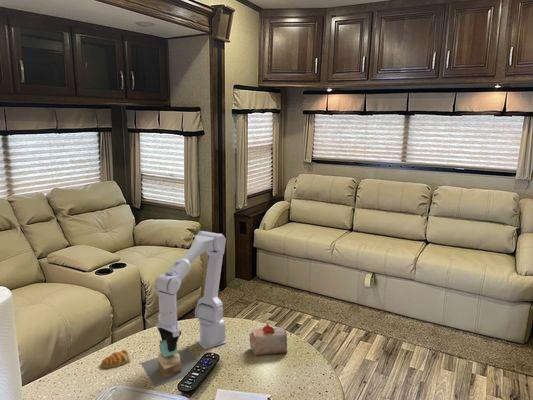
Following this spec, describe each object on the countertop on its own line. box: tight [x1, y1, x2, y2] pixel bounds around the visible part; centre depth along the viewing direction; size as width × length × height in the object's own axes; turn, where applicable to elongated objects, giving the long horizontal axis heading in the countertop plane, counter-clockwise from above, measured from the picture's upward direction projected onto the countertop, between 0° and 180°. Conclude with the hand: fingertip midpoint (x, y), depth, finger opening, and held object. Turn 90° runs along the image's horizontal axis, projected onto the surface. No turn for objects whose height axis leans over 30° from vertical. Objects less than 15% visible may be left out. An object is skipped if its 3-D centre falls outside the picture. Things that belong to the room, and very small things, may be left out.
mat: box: [140, 348, 200, 388], centre depth 142 cm, size 18×16×1 cm
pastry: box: [100, 349, 131, 369], centre depth 143 cm, size 9×7×4 cm
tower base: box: [158, 361, 181, 378], centre depth 139 cm, size 6×6×3 cm
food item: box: [249, 323, 288, 356], centre depth 152 cm, size 14×8×10 cm, turn 101°
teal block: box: [159, 340, 178, 357], centre depth 137 cm, size 4×4×4 cm
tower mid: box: [158, 352, 180, 369], centre depth 138 cm, size 6×6×3 cm
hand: (169, 347), depth 137 cm, fingers closed on teal block, 4 cm apart
